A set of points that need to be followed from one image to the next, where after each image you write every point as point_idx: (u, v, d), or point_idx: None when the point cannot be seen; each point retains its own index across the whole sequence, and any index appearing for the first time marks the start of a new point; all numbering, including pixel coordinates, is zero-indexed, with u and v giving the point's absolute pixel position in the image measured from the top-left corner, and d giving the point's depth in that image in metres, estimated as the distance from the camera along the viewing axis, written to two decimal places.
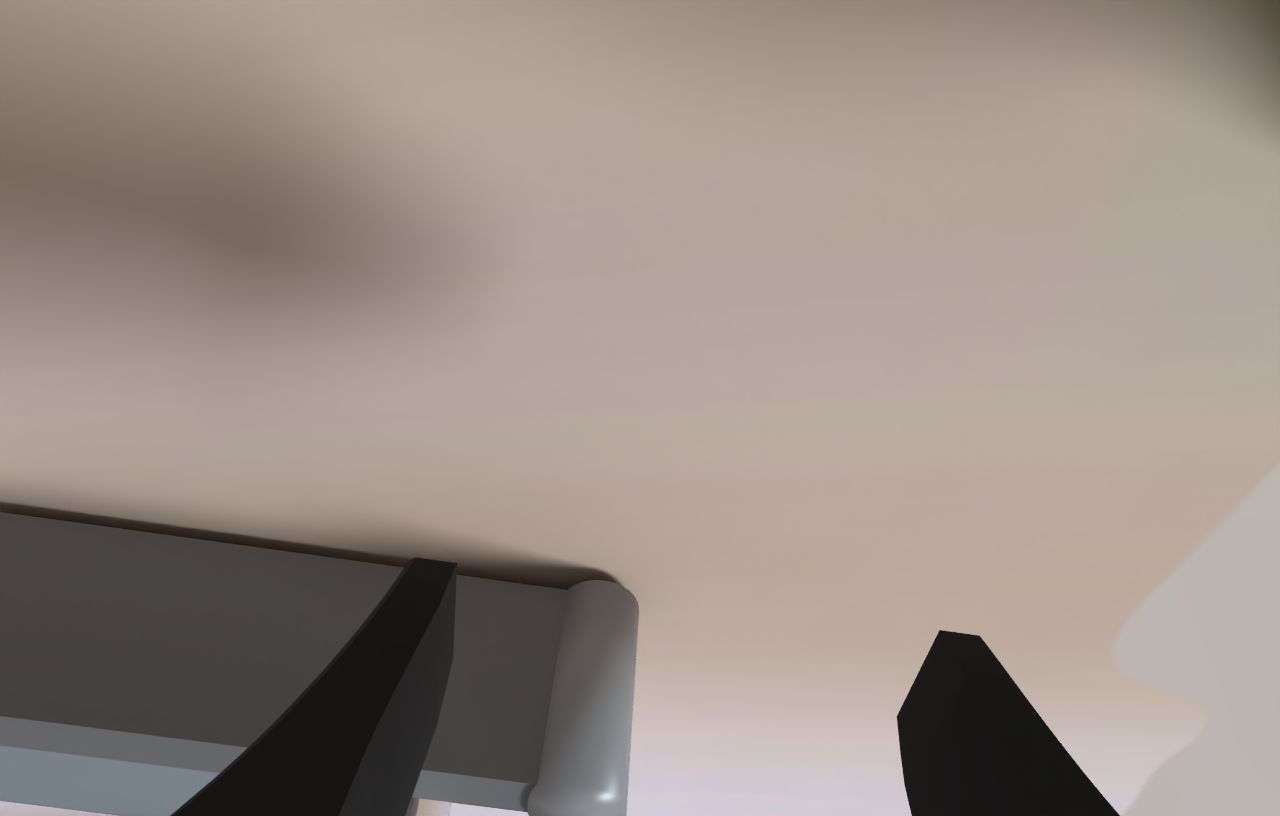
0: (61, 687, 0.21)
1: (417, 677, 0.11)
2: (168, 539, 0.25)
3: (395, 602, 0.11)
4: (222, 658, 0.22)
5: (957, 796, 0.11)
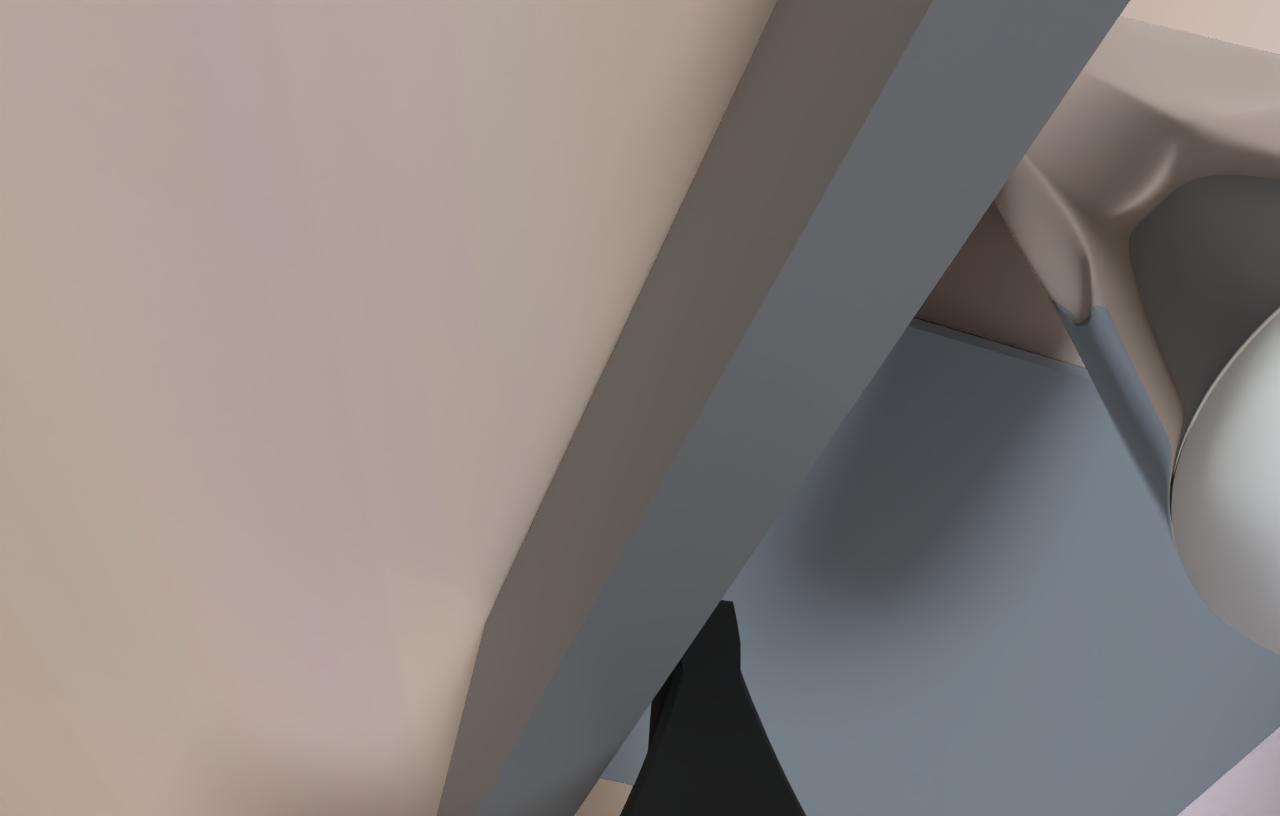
0: (536, 663, 0.11)
1: None
2: (577, 430, 0.16)
3: (699, 644, 0.11)
4: (637, 413, 0.11)
5: None
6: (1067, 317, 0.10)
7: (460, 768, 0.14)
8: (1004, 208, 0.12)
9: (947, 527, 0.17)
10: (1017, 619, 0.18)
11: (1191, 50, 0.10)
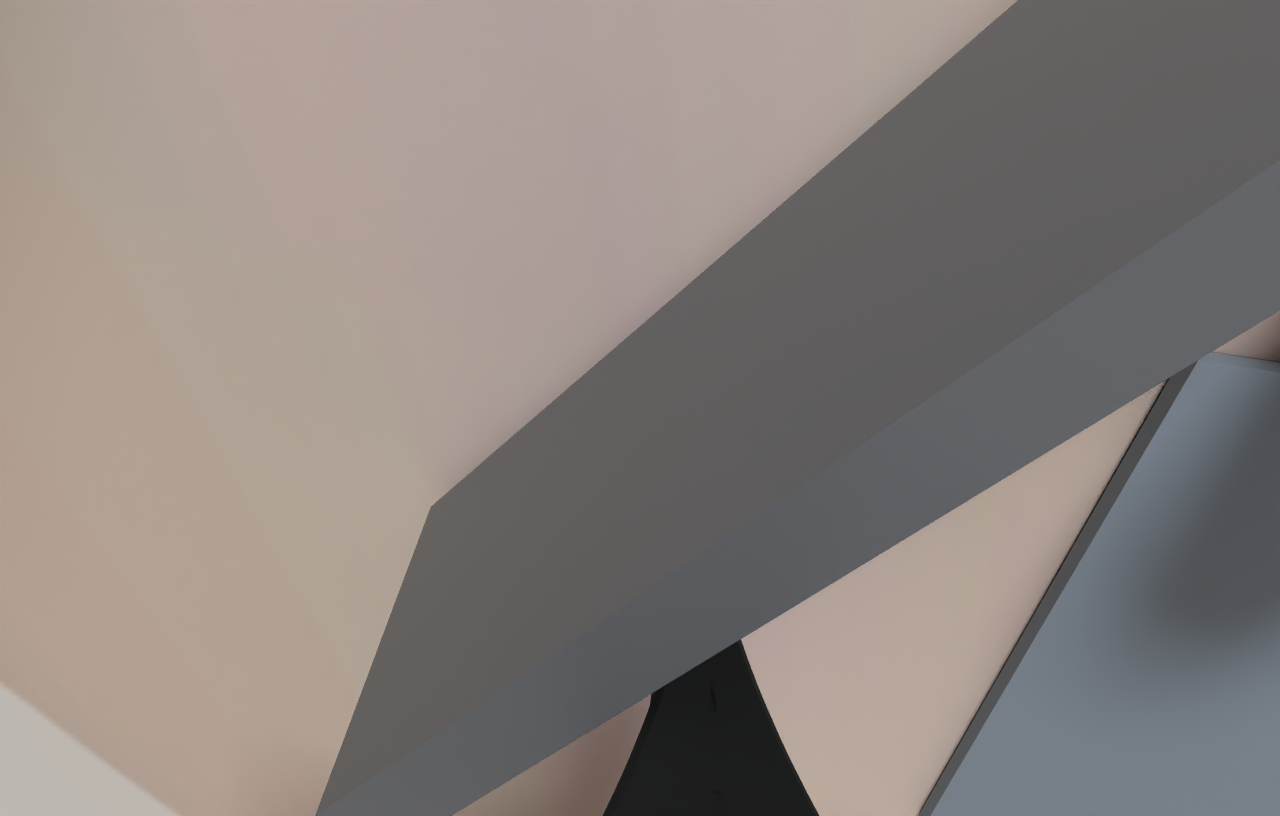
0: (623, 548, 0.10)
1: None
2: (641, 330, 0.14)
3: None
4: (831, 317, 0.10)
5: None
6: None
7: (419, 647, 0.13)
8: None
9: None
10: None
11: None
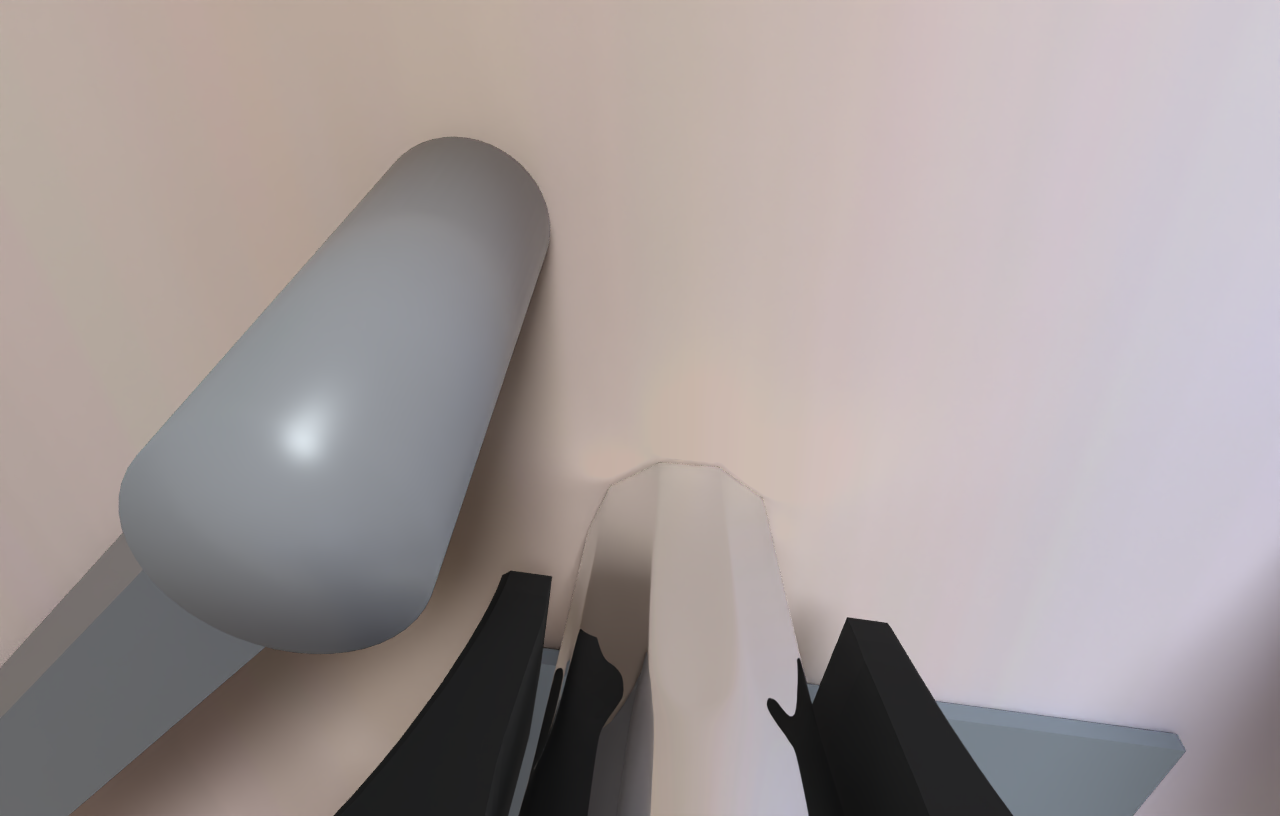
0: None
1: (525, 691, 0.11)
2: (32, 632, 0.17)
3: (500, 616, 0.11)
4: None
5: (856, 783, 0.11)
6: None
7: None
8: None
9: None
10: None
11: (637, 575, 0.12)
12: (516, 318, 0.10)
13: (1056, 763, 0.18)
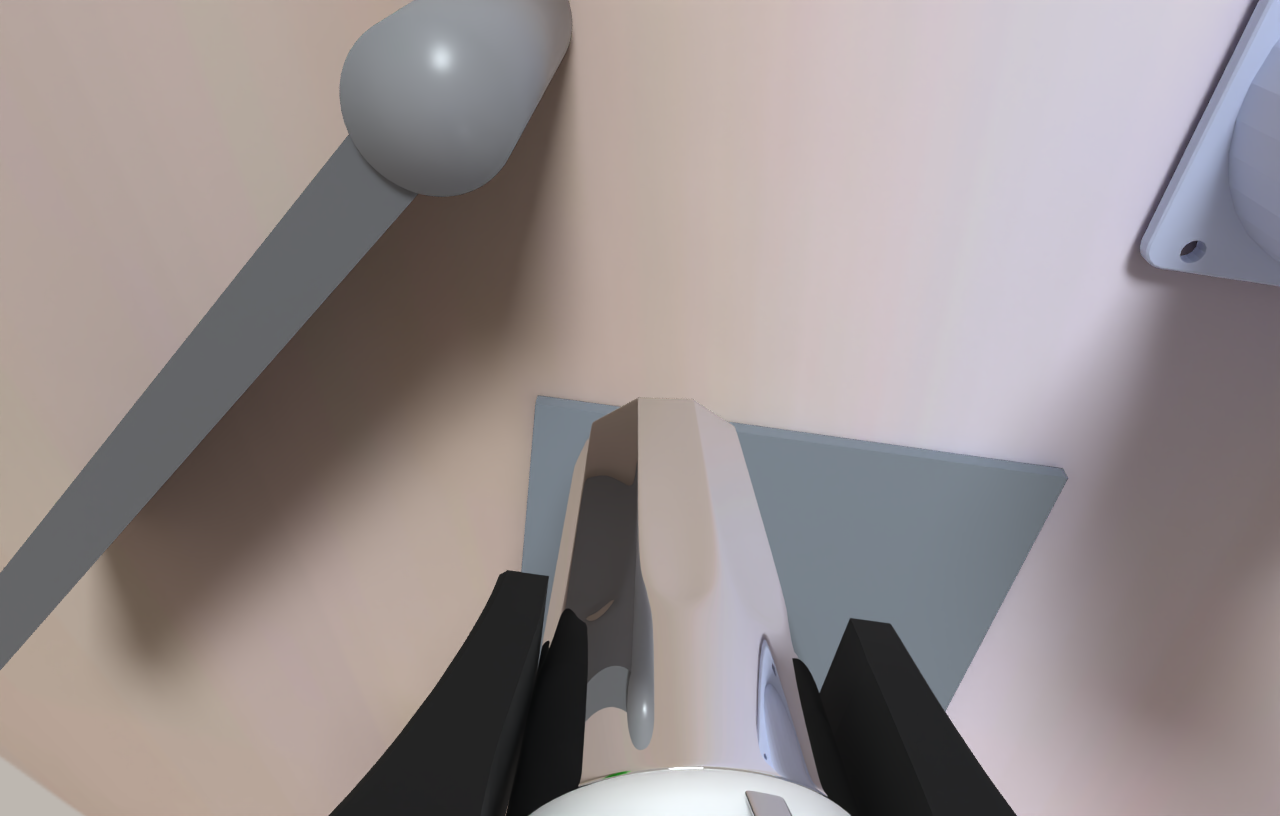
0: None
1: (522, 691, 0.11)
2: None
3: (496, 616, 0.11)
4: None
5: (859, 784, 0.11)
6: None
7: None
8: None
9: None
10: None
11: (622, 495, 0.14)
12: (553, 48, 0.15)
13: (968, 493, 0.23)
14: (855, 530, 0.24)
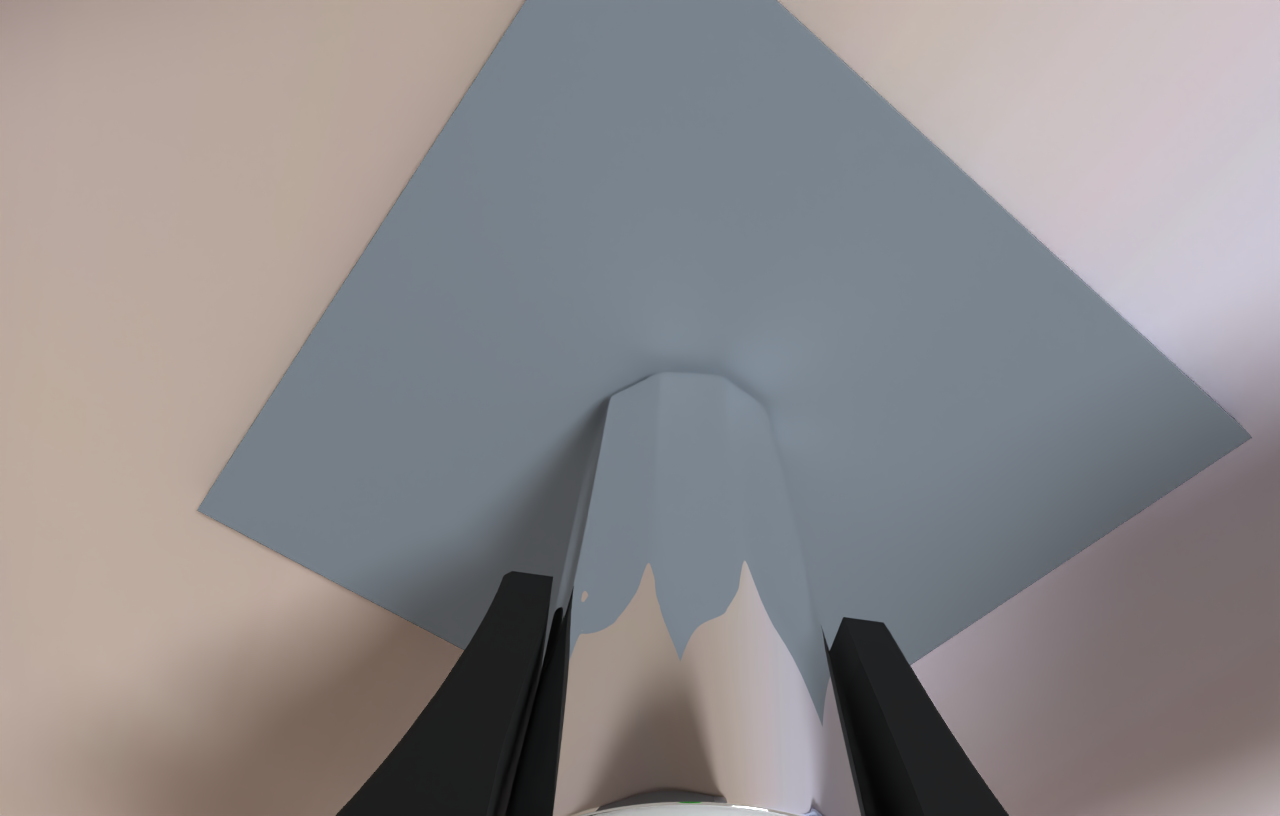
0: None
1: (526, 692, 0.11)
2: None
3: (501, 617, 0.11)
4: None
5: None
6: None
7: None
8: None
9: (688, 269, 0.14)
10: None
11: (640, 480, 0.13)
12: None
13: (1123, 400, 0.15)
14: (942, 387, 0.15)
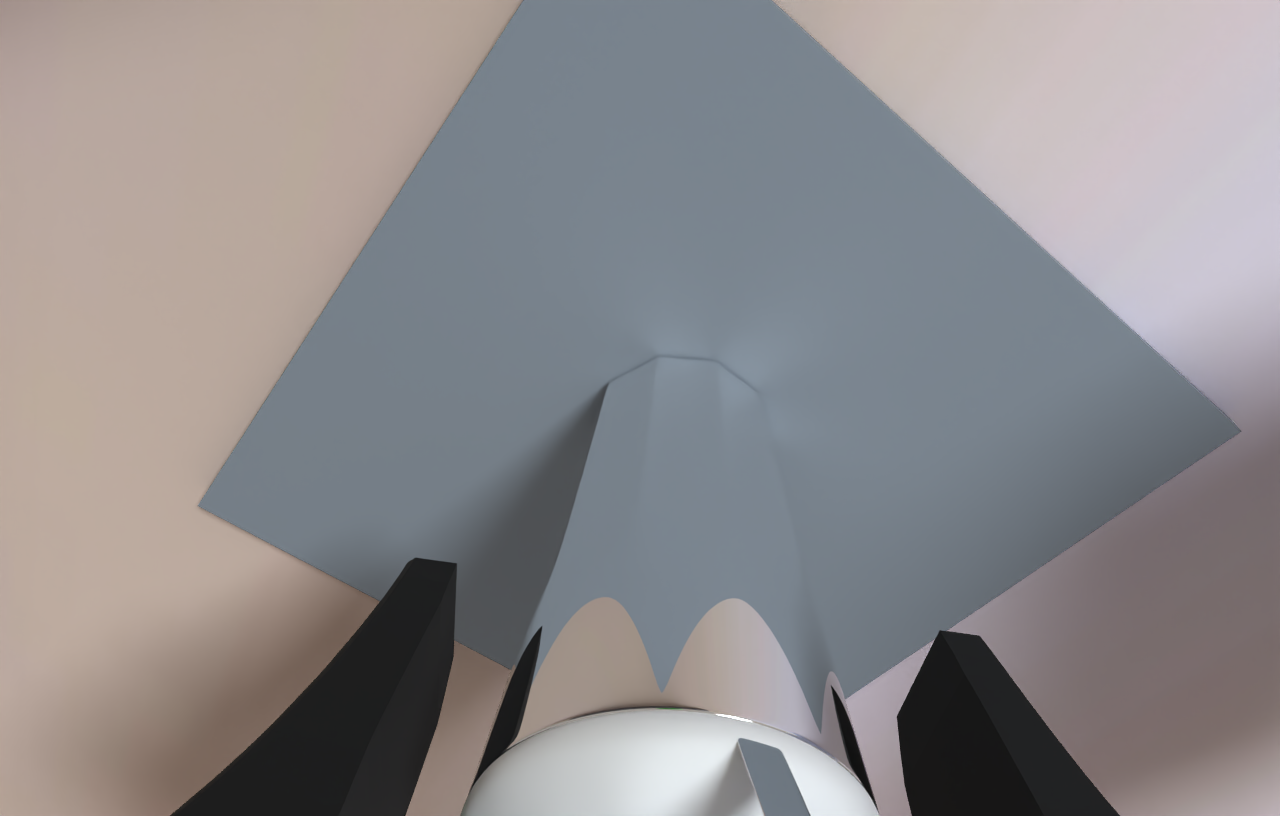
0: None
1: (417, 677, 0.11)
2: None
3: (395, 602, 0.11)
4: None
5: (957, 796, 0.11)
6: None
7: None
8: None
9: (684, 265, 0.14)
10: None
11: (632, 446, 0.13)
12: None
13: (1114, 394, 0.15)
14: (935, 382, 0.15)
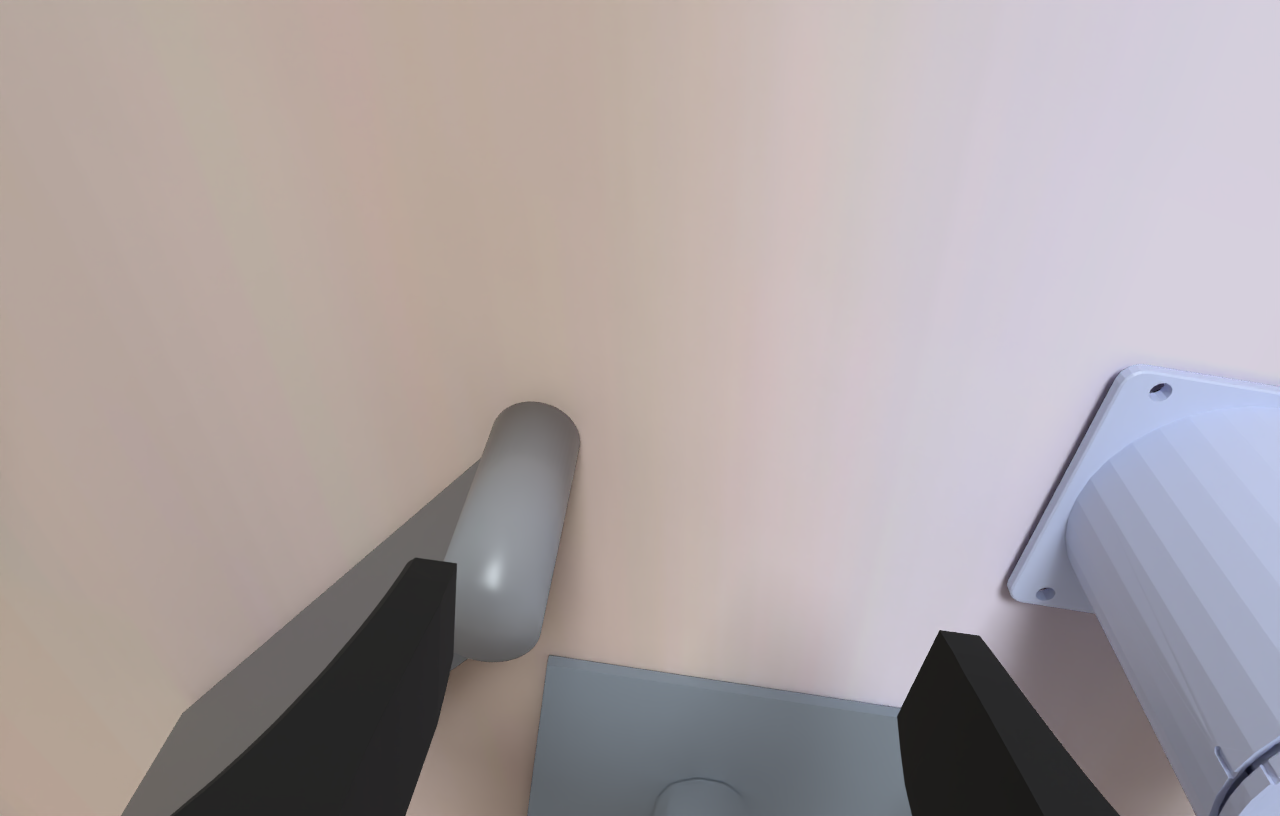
0: (185, 791, 0.24)
1: (417, 677, 0.11)
2: (265, 644, 0.29)
3: (395, 602, 0.11)
4: (268, 699, 0.24)
5: (957, 796, 0.11)
6: None
7: (134, 812, 0.27)
8: None
9: (658, 753, 0.31)
10: None
11: None
12: (565, 507, 0.21)
13: (887, 734, 0.29)
14: (799, 755, 0.30)
